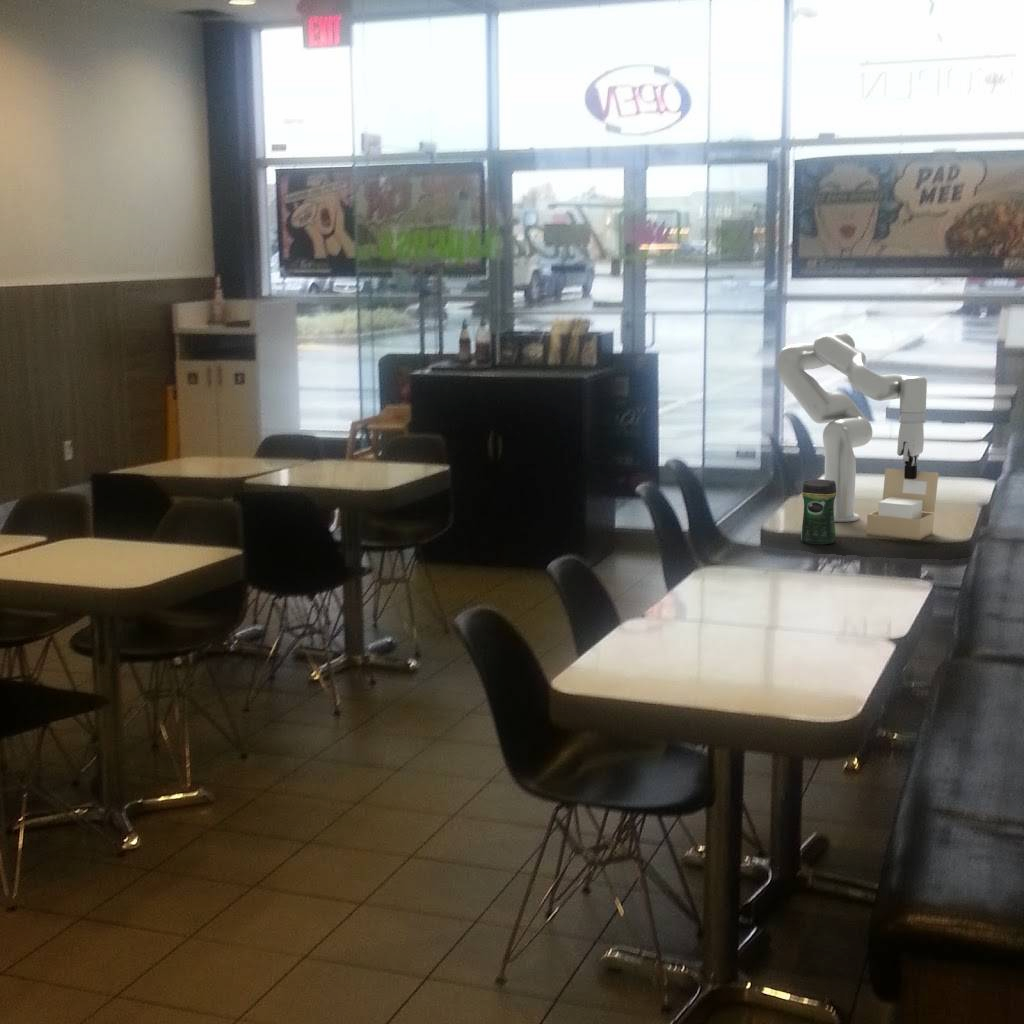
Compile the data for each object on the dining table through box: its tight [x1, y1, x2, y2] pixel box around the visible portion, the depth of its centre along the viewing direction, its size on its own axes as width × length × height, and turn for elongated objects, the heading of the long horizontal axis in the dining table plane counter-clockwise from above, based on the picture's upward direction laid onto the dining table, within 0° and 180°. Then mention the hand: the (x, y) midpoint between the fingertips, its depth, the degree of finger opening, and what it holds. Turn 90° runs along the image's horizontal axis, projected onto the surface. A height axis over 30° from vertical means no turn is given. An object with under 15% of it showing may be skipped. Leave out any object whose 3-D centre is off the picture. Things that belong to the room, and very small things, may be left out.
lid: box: [882, 467, 939, 514], centre depth 404 cm, size 16×12×1 cm
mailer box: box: [866, 497, 935, 541], centre depth 399 cm, size 16×12×10 cm
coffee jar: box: [800, 478, 837, 545], centre depth 388 cm, size 10×8×19 cm
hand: (910, 478), depth 402 cm, fingers closed
